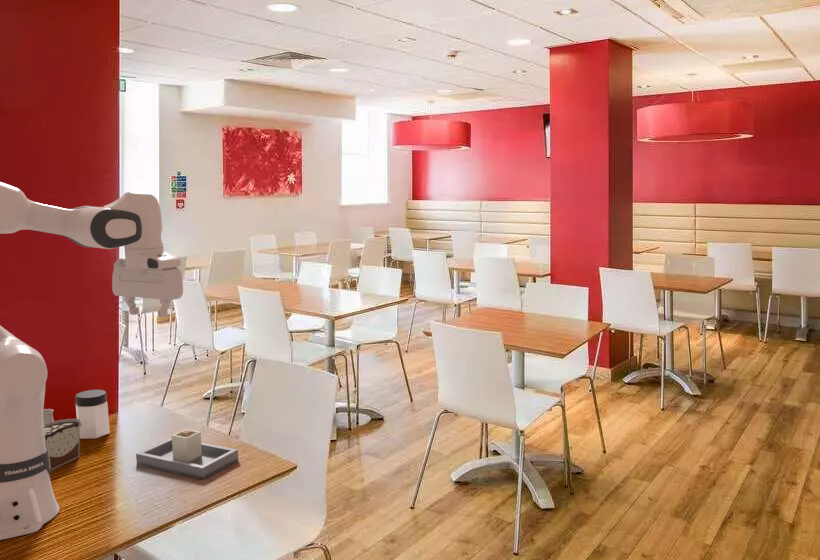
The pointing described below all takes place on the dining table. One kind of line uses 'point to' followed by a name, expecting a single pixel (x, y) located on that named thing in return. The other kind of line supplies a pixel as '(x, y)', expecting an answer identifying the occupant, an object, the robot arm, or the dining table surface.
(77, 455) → the food container
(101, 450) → the dining table surface
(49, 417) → the flask
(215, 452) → the tray
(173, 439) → the cup
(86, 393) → the jar
